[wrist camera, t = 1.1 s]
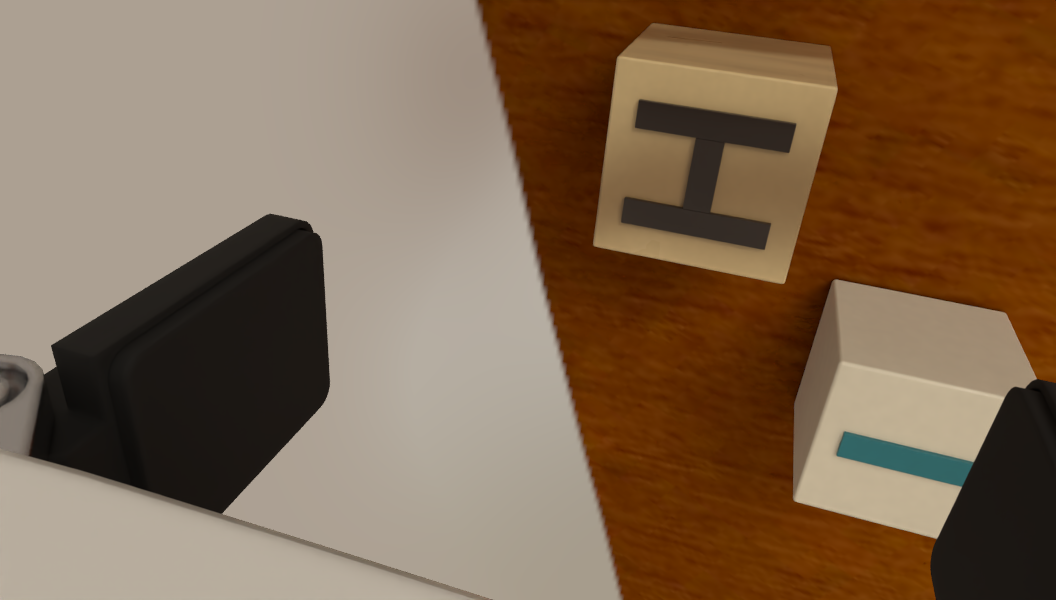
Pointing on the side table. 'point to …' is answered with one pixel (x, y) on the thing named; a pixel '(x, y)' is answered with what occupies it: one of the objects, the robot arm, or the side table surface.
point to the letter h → (713, 148)
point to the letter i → (899, 403)
